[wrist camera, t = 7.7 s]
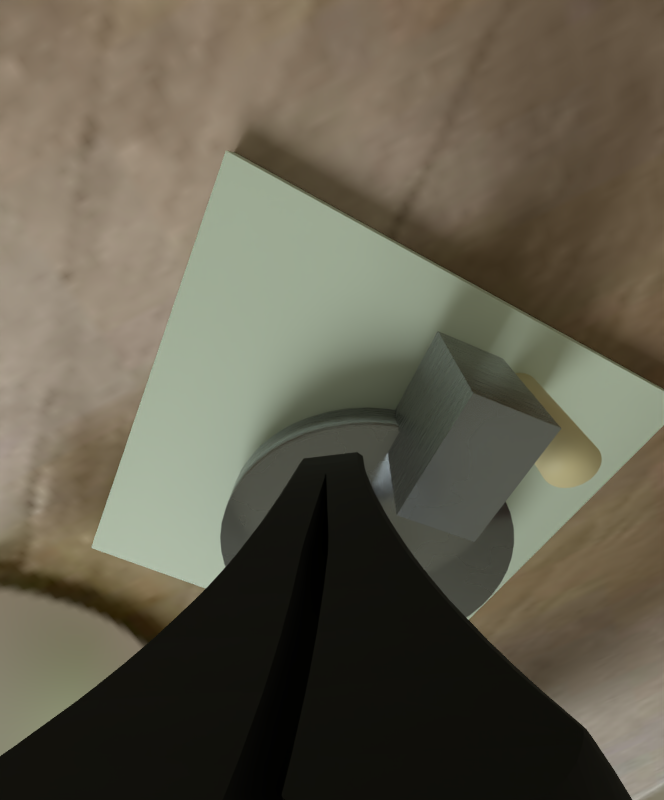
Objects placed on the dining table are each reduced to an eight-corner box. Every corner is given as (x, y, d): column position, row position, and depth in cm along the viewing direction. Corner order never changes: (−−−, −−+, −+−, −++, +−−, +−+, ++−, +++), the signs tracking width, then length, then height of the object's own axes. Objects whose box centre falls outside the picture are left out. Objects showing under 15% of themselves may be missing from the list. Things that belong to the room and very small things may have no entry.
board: (419, 647, 25) (437, 765, 20) (102, 532, 21) (29, 638, 16) (668, 391, 17) (796, 478, 12) (233, 151, 14) (171, 140, 9)
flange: (421, 640, 21) (438, 748, 17) (200, 573, 20) (162, 676, 16) (611, 403, 15) (705, 486, 11) (313, 278, 14) (298, 323, 10)
